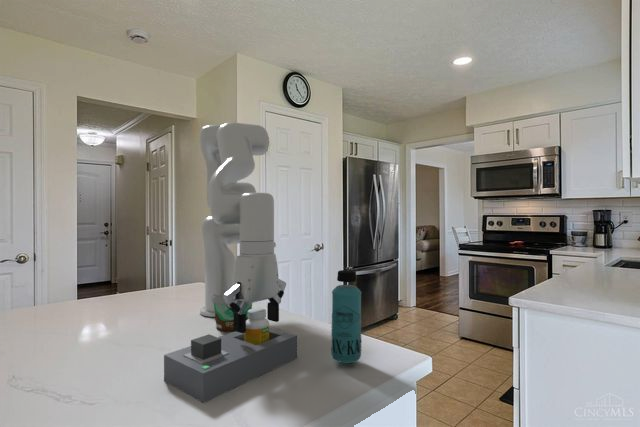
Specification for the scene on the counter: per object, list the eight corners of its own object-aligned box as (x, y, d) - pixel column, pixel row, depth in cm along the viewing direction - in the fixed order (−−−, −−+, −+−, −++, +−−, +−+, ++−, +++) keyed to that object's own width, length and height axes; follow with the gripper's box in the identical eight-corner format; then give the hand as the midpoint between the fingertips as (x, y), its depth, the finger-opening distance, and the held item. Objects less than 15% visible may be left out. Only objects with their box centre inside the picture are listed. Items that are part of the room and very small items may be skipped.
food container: (215, 336, 94) (215, 298, 94) (211, 329, 99) (210, 293, 99) (260, 329, 99) (260, 293, 99) (254, 323, 105) (254, 289, 105)
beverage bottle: (329, 358, 79) (329, 268, 79) (359, 357, 80) (358, 267, 80) (333, 371, 73) (332, 273, 73) (365, 369, 73) (364, 272, 73)
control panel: (258, 344, 88) (257, 311, 88) (297, 357, 80) (297, 321, 80) (164, 380, 69) (163, 339, 69) (203, 402, 61) (203, 355, 61)
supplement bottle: (264, 360, 76) (264, 314, 76) (240, 358, 77) (240, 313, 77) (272, 350, 81) (272, 307, 81) (249, 348, 82) (249, 306, 82)
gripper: (273, 244, 88) (273, 314, 88) (213, 251, 75) (213, 332, 75) (295, 246, 83) (296, 319, 83) (236, 253, 70) (236, 340, 70)
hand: (257, 325), depth 79 cm, fingers open, 9 cm apart
